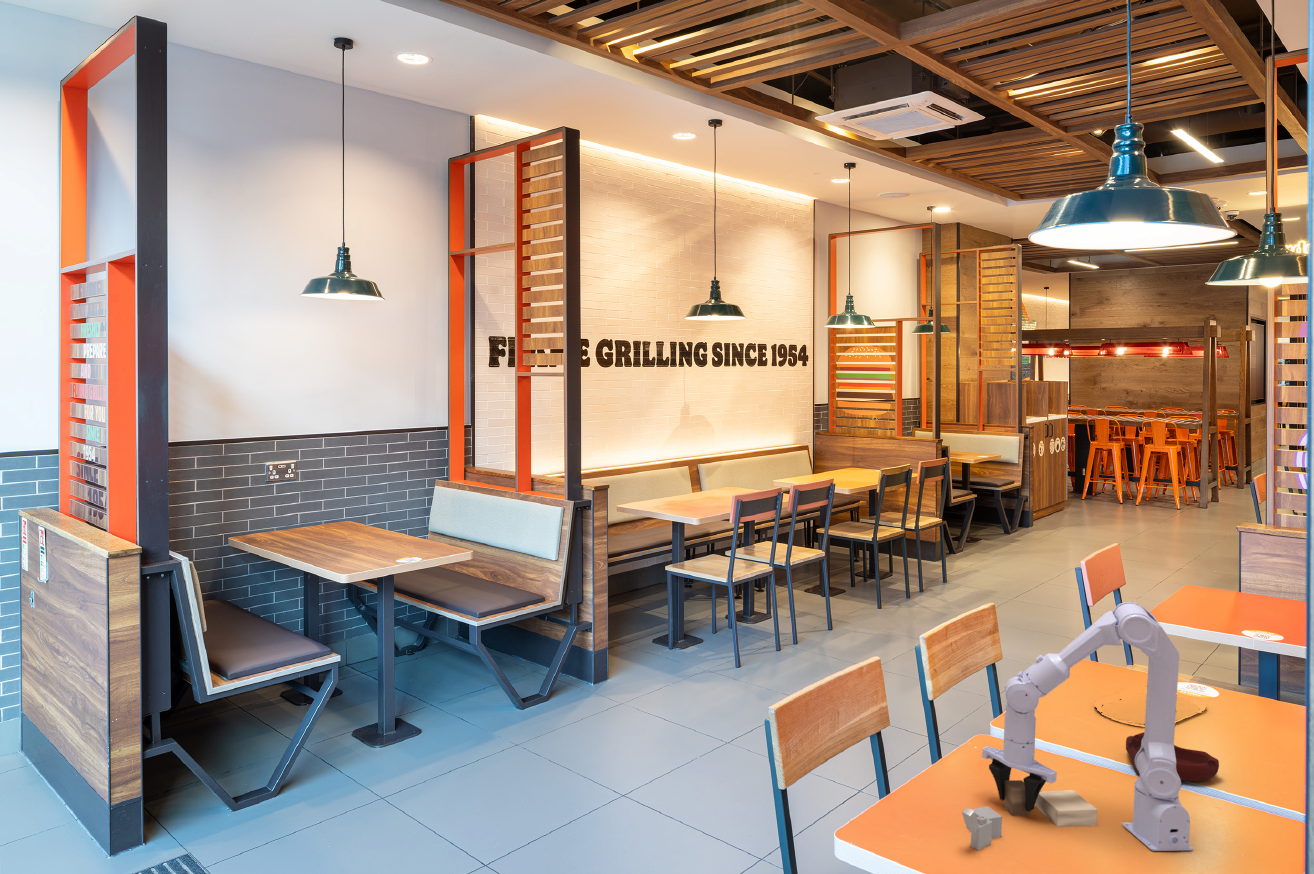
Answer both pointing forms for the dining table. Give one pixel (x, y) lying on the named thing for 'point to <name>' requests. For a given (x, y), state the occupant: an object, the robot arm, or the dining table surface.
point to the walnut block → (1015, 797)
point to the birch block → (1066, 808)
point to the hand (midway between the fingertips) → (1016, 804)
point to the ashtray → (1181, 761)
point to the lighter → (978, 829)
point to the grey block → (992, 817)
